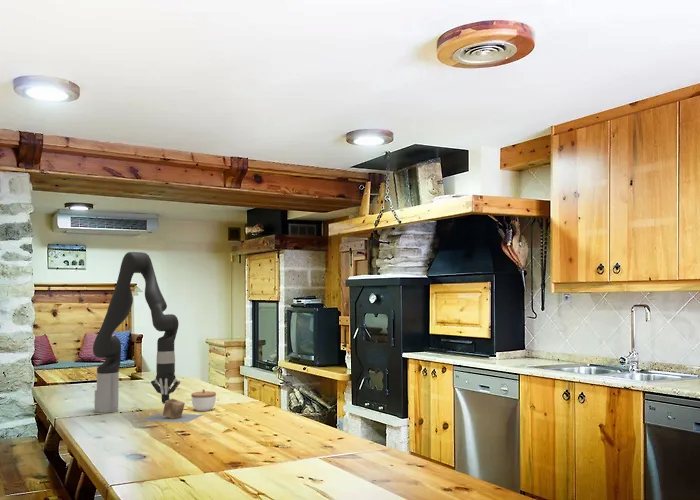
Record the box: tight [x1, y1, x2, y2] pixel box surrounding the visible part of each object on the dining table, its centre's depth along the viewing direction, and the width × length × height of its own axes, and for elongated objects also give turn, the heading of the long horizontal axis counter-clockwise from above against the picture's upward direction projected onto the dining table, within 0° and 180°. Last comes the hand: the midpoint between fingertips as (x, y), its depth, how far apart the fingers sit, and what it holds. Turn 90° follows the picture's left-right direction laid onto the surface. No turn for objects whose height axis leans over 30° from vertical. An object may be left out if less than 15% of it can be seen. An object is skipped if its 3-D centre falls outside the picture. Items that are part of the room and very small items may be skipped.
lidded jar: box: [190, 388, 217, 412], centre depth 293 cm, size 11×11×9 cm
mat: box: [137, 413, 203, 423], centre depth 275 cm, size 22×16×1 cm
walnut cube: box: [161, 398, 186, 419], centre depth 275 cm, size 6×6×6 cm
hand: (165, 403), depth 276 cm, fingers closed
